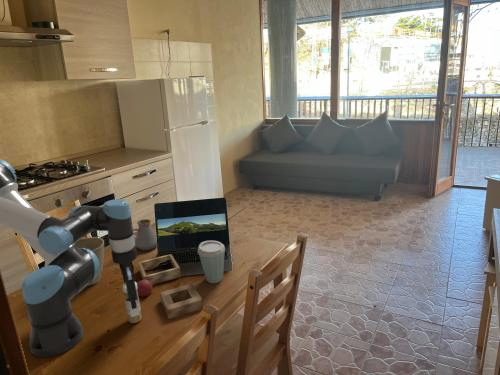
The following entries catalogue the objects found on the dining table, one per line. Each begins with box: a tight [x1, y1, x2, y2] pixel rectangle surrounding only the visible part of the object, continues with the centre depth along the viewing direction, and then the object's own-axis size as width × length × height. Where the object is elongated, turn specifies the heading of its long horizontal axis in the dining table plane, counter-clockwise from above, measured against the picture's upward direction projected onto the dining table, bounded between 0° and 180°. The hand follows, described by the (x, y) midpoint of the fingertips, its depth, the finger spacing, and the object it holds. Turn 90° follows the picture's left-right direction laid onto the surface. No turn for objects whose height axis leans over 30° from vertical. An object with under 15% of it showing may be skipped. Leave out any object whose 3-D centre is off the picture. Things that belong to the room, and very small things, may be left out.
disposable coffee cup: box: [197, 240, 226, 284], centre depth 149 cm, size 11×11×15 cm
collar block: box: [159, 283, 204, 320], centre depth 136 cm, size 12×12×4 cm
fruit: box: [136, 279, 153, 298], centre depth 143 cm, size 6×6×8 cm
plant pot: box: [74, 236, 105, 286], centre depth 154 cm, size 15×15×16 cm
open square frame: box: [137, 254, 182, 286], centre depth 158 cm, size 14×14×4 cm
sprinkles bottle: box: [122, 281, 143, 324], centre depth 128 cm, size 5×5×14 cm
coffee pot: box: [133, 218, 158, 251], centre depth 178 cm, size 21×12×15 cm, turn 137°
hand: (133, 311), depth 129 cm, fingers closed on sprinkles bottle, 4 cm apart
